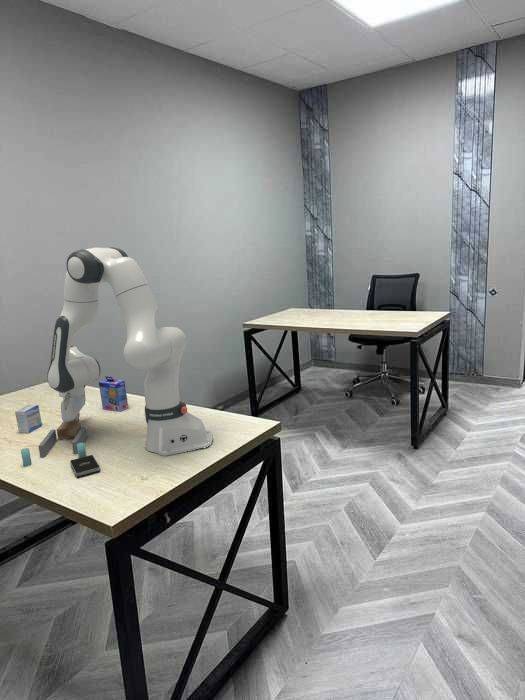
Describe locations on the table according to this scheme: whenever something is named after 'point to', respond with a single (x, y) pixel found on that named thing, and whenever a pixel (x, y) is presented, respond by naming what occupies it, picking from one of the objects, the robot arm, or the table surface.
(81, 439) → the channel walls
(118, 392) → the ink cartridge box
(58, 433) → the walnut block
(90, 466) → the external hard drive
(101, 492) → the table surface
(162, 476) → the table surface
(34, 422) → the medicine box
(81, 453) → the posts
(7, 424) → the table surface
